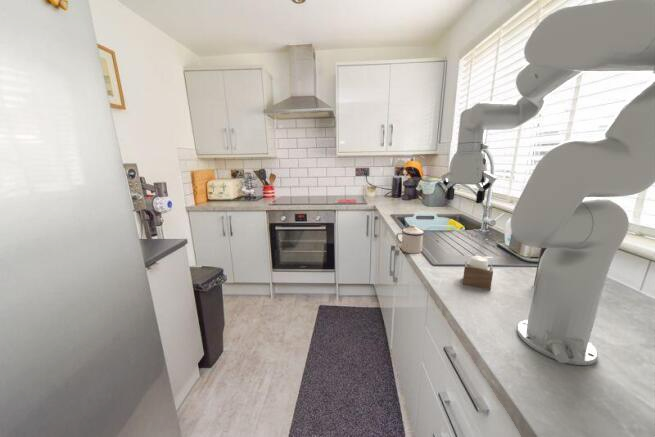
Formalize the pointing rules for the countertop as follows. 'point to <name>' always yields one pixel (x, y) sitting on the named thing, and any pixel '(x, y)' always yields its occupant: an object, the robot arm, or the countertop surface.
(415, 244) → the teacup with lid
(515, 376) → the countertop surface
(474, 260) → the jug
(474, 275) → the caddy
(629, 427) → the countertop surface
